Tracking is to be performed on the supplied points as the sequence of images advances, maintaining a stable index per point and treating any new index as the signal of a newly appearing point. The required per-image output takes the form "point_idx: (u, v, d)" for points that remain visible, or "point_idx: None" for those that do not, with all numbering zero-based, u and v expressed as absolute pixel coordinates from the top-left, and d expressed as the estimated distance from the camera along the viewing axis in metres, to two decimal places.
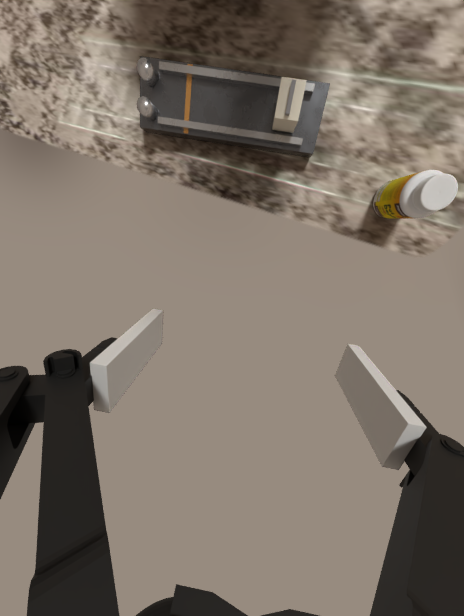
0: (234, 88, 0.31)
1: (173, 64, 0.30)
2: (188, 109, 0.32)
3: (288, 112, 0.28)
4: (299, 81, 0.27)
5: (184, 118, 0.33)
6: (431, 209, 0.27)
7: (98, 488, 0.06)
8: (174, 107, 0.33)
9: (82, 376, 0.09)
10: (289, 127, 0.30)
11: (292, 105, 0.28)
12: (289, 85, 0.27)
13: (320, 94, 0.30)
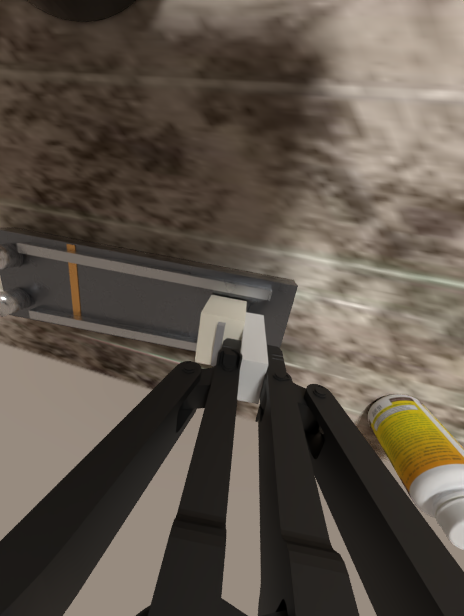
0: (145, 280, 0.19)
1: (40, 248, 0.18)
2: (78, 300, 0.20)
3: None
4: (232, 321, 0.15)
5: (73, 310, 0.21)
6: None
7: (228, 480, 0.06)
8: (56, 295, 0.21)
9: (238, 375, 0.11)
10: None
11: None
12: (215, 324, 0.15)
13: (283, 298, 0.19)
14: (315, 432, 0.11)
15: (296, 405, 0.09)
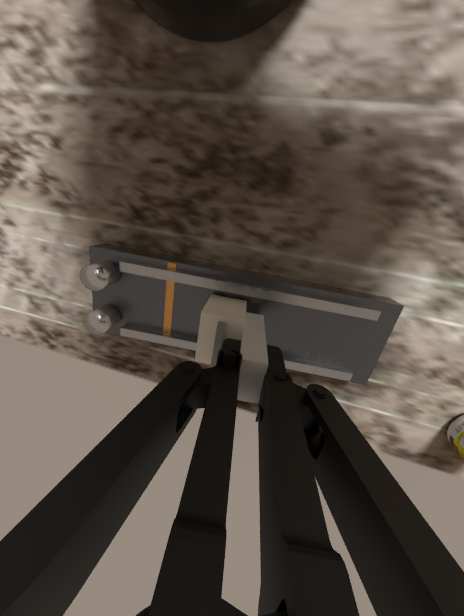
0: (244, 298, 0.19)
1: (143, 267, 0.18)
2: (170, 317, 0.20)
3: (215, 364, 0.16)
4: (232, 321, 0.15)
5: (163, 327, 0.21)
6: None
7: (228, 480, 0.06)
8: (147, 313, 0.20)
9: (238, 375, 0.11)
10: None
11: None
12: (215, 324, 0.15)
13: (386, 317, 0.18)
14: (315, 432, 0.11)
15: (296, 405, 0.09)
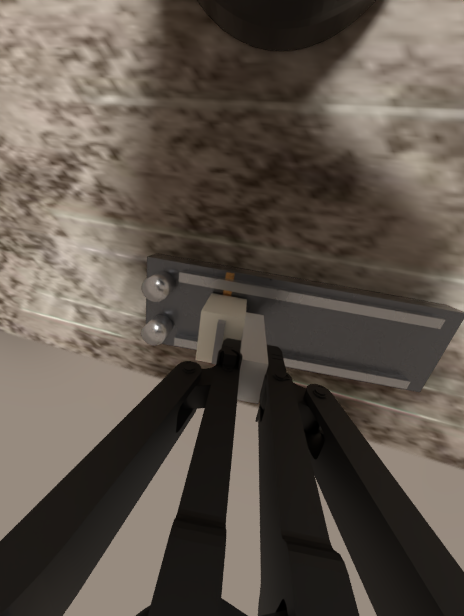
0: (302, 307, 0.19)
1: (203, 278, 0.18)
2: None
3: None
4: (232, 319, 0.15)
5: None
6: None
7: (228, 480, 0.06)
8: None
9: (238, 375, 0.11)
10: None
11: None
12: (216, 322, 0.15)
13: (447, 325, 0.18)
14: (315, 432, 0.11)
15: (296, 405, 0.09)
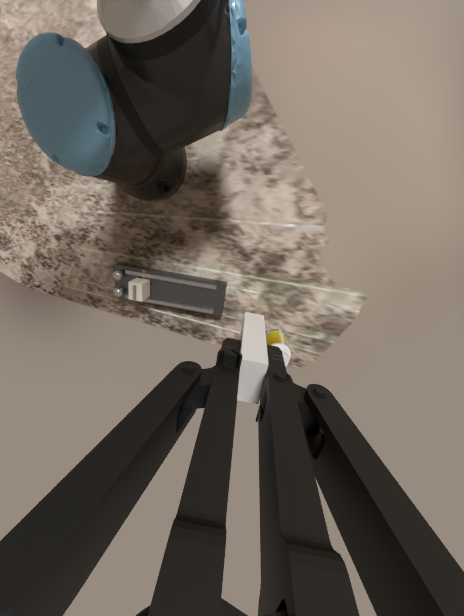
0: (171, 282, 0.52)
1: (133, 272, 0.51)
2: None
3: (134, 299, 0.49)
4: (138, 284, 0.48)
5: None
6: None
7: (228, 480, 0.06)
8: None
9: (238, 375, 0.11)
10: None
11: (137, 294, 0.49)
12: None
13: (221, 288, 0.51)
14: (315, 432, 0.11)
15: (296, 405, 0.09)
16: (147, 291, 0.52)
